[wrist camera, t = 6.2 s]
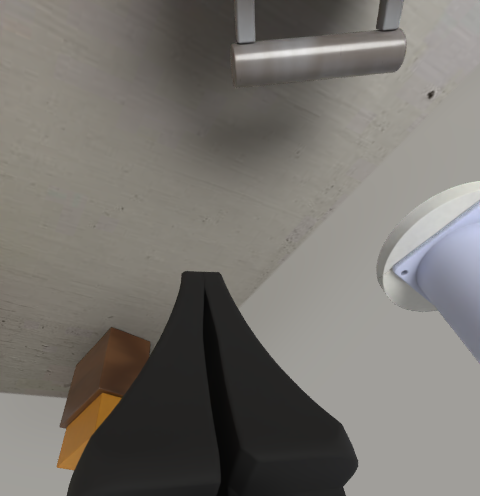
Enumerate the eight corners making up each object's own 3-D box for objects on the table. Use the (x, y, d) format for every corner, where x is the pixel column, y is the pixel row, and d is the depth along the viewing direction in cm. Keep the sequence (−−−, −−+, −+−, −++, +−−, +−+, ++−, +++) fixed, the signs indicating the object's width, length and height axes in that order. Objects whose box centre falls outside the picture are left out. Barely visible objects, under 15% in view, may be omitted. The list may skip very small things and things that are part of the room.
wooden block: (150, 341, 28) (145, 401, 24) (114, 377, 30) (104, 437, 26) (111, 326, 26) (98, 388, 22) (76, 365, 28) (58, 427, 24)
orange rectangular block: (102, 392, 22) (94, 433, 20) (138, 402, 24) (133, 442, 21) (66, 426, 24) (55, 468, 22) (101, 434, 25) (94, 473, 23)
